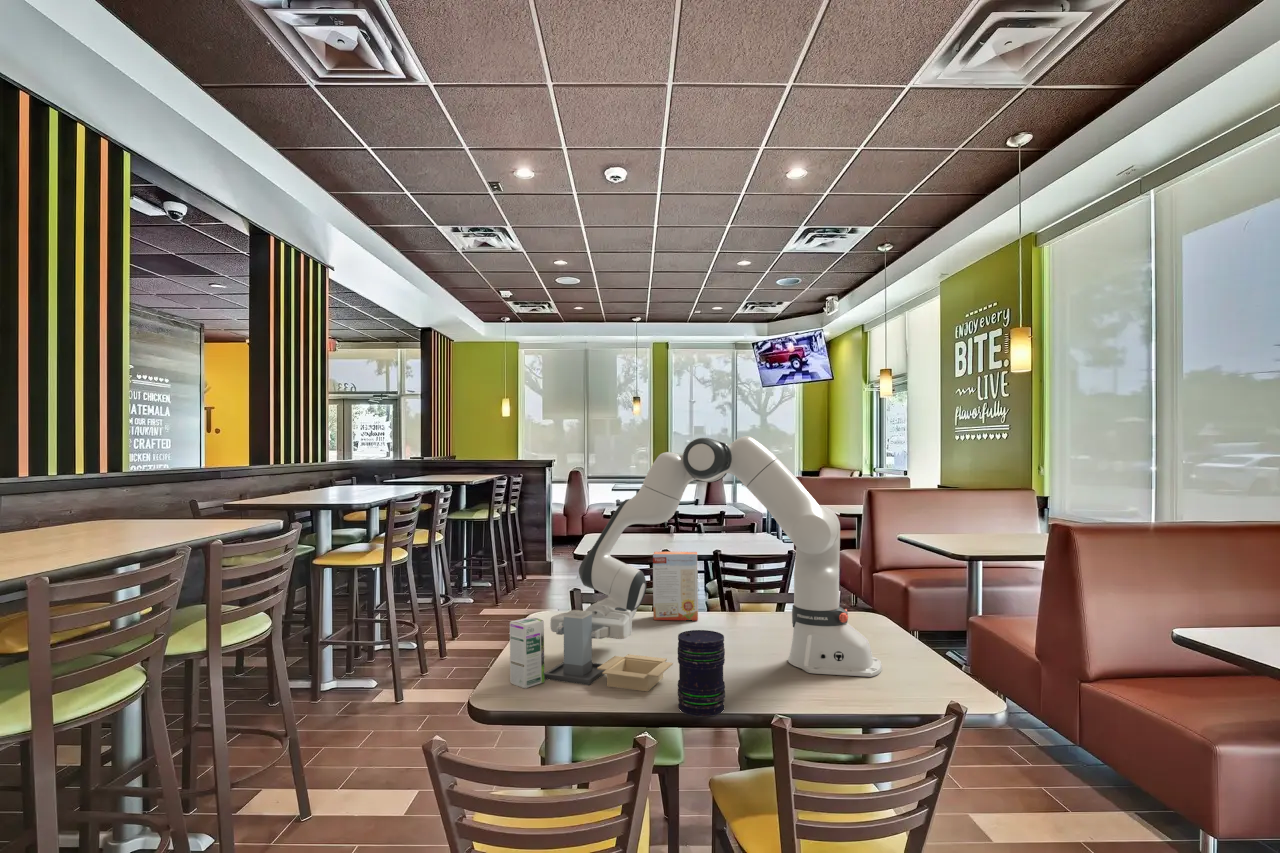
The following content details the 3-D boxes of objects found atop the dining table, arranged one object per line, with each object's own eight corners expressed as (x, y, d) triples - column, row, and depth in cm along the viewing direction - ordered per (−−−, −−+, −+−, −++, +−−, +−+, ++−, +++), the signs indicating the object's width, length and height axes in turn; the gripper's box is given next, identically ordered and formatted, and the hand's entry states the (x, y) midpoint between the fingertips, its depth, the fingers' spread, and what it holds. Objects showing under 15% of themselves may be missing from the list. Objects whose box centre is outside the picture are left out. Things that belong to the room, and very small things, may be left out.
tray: (610, 669, 174) (610, 664, 174) (589, 685, 163) (589, 679, 163) (567, 664, 179) (567, 659, 179) (543, 678, 168) (543, 673, 168)
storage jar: (731, 703, 152) (730, 632, 152) (716, 720, 143) (716, 644, 143) (687, 696, 156) (686, 628, 156) (670, 712, 147) (670, 639, 147)
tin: (592, 669, 173) (592, 611, 173) (582, 676, 168) (582, 616, 168) (573, 667, 175) (573, 609, 175) (563, 673, 170) (563, 614, 170)
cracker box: (698, 616, 228) (697, 551, 228) (697, 621, 222) (697, 553, 222) (654, 615, 229) (654, 550, 229) (652, 620, 223) (652, 553, 223)
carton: (676, 675, 170) (676, 659, 170) (654, 696, 156) (654, 679, 156) (619, 668, 175) (618, 653, 175) (592, 688, 161) (592, 671, 161)
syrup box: (525, 689, 161) (525, 624, 161) (509, 683, 165) (509, 620, 165) (544, 682, 165) (544, 619, 165) (528, 677, 169) (528, 615, 169)
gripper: (564, 604, 187) (538, 616, 175) (636, 610, 180) (614, 623, 167) (564, 628, 187) (538, 642, 174) (637, 636, 180) (614, 650, 167)
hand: (576, 633), depth 171 cm, fingers open, 8 cm apart
